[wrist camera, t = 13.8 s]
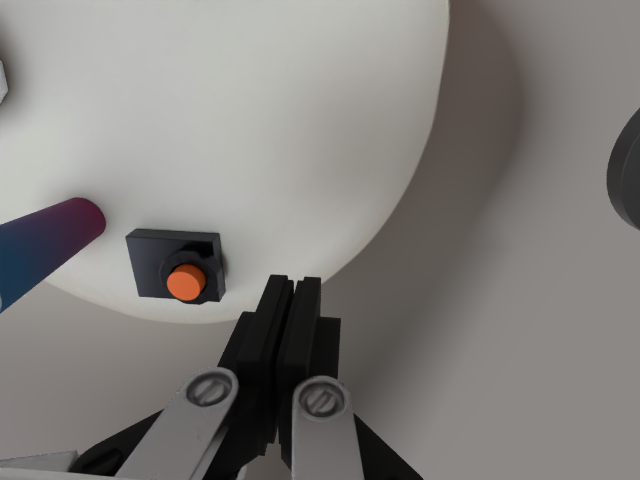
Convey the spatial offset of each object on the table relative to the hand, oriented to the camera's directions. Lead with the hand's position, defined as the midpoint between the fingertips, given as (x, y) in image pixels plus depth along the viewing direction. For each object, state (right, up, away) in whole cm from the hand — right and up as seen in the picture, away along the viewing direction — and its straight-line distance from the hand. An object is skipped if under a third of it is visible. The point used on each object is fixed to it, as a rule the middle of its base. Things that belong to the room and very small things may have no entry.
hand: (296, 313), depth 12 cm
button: (-14, -2, +28) cm, 31 cm away
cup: (-27, +5, +30) cm, 41 cm away
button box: (-16, 0, +32) cm, 35 cm away
